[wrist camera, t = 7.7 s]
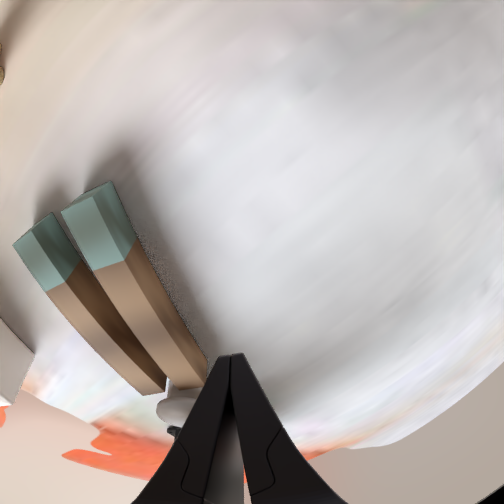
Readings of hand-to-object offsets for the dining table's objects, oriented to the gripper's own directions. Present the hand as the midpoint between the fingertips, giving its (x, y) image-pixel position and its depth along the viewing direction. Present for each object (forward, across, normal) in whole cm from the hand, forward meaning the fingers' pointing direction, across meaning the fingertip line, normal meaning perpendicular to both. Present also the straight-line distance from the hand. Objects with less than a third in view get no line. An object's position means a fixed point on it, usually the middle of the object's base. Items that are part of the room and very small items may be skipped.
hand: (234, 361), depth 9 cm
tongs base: (+10, +9, +6) cm, 15 cm away
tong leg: (+10, +7, +3) cm, 12 cm away
